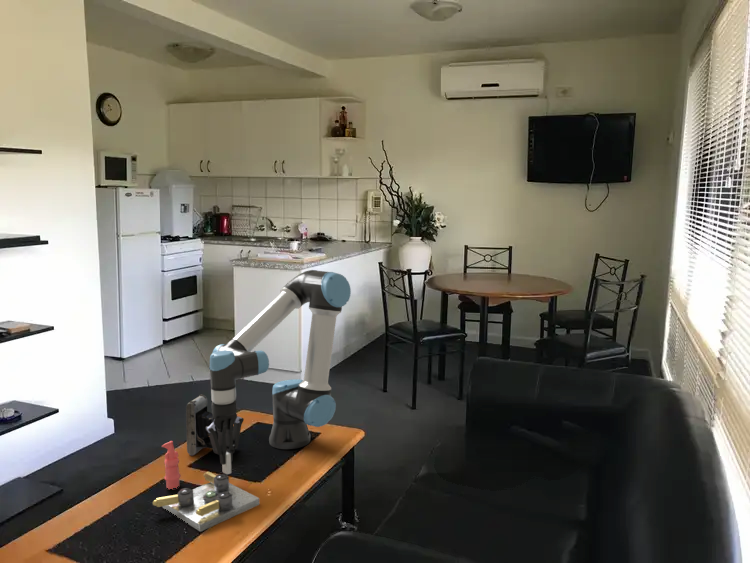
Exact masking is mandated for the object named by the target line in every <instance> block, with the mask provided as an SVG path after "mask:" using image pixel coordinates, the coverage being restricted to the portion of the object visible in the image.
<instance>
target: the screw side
mask: <svg viewBox="0 0 750 563" xmlns="http://www.w3.org/2000/svg"><path fill="white" fill-rule="evenodd" d="M230 508H232V494H231V493H229V492H221V493H219V494H218V495H217V496H216V500H215V501H213V502H210V503H208V504H206V505H203V506H201V507H199V509H198V510H197V511H196V514H197V515H200V516H203V515H206V514H208V513H210V512H213V511H215V510H217V509H218V510H228V509H230Z"/></svg>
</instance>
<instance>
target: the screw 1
mask: <svg viewBox="0 0 750 563" xmlns="http://www.w3.org/2000/svg"><path fill="white" fill-rule="evenodd" d="M193 503H194V495H193V490H192V489H191V488H190V487H184V488H180V489H179V491H178V492H177V494H173V495H167V496H161V497H156V499H154V500H153V501H152V506H154V507H155V506H156V507H157V508H160V507H163V506H167V505H172V504H178V505H179V506H189V505H191V504H193Z"/></svg>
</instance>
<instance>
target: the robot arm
mask: <svg viewBox="0 0 750 563" xmlns="http://www.w3.org/2000/svg"><path fill="white" fill-rule="evenodd" d="M351 293H352V290H351V285H350V283H349V281H348V279H347V278H346V277H345V275H343V274H341V273H339V272H338V273H337V272H333V271H323V270H318V269H317V270H315V269H311V270H309V269H308V270H305V271H304V272H301V273H300V274H298V275H296V276H295V277H293V278H292V279H291V280H289V281H287V283H286V284H285V285H284V286H283V287H282V288H281V289H280V293H279V294H278V295H277V296H276V297H275V298H274V299H273V300H272V301H270V302H269V304H267V306H265V307H264V309H263V310H261V311H260V312H259V313H258V314H257V315H256V316H255V317H254V318H253V319H252V320H251V321H250V322H248V324H246V325H245V326H244V327H242V329H241V330H240V331H239V332H238V333H236V335H235V336H234V337H233V338H231V339H230V340H229V341H228V342H227V343H225V344H224V343H221V344H219V345H216V346H215V347H214V348H213V350H212V353H211V354H210V356H209V368H208V369H209V377H210V378H209V379H210V396H211V401H212V402H211V413H212V414H213V419H212V423H211V425H210V426H209V427H208V426H206V427H205V429H206V431H207V432H208V433H209V437H210V440H211V444H212V447H213V448H212V450H213V453H214V454H216V455H218V456H219V462H220V464H221V465H222V466H221V467H222V468H221V469H222V470H221V471H222V474H226V475H227V476H228V475H230V474H232V462H233V459H234V457H233V454H235V450H237V449H238V447H239V441H240V436H241V430H242V424H243V423H244V419H245V418H243V417H240V416H239V415H238V414H237V411H238V409H237V401H236V399H237V388H236V387H237V385H236V380H240V379H246V378H249V377H254V376H259V375H262V374H264V373H266V372H267V371H268V370H269V368H270V360H269V356H268V355H267V353H266V352H265V351H264V350H255V348H256V347H257V346H259V344H260V343H261V342H262V341H263V340H265V338H266V337H268V335H269V334H271V332H272V331H274V330H275V328H277V327H278V326H279V325H280V324H281V323H282V322H283V320H284V321H285V319H286V318H287V317H289V315H291V313H292V312H293V311H295V310H296V309H301V308H302V306H304V305H306V304H307V303H308V309H309V310H310V312H311V322H310V328H309V329H310V330H309V339H308V344H307V351H306V353H307V354H306V360H305V367H304V375H303V379H300V378H299V379H298V378H293V379H286V380H281V381H278V382H276V383H274V384H273V385H272V392H271V393H272V394H271V396H272V413H273V414H272V418H273V424H272V428H271V431H270V434H269V438H268V441H269V445H270V446H271V447H273V448H275V449H277V450H278V449H279V450H294V449H299V448H303V447H305V446H307V445H309V443H310V442H311V433H310V430H309V428H308V426H310V427H316V428H320V427H323V426H325V425H327V424H328V423H329V421H331V420H332V419H333V417H334V416H335V412H336V408H337V404H336V400H335V398H334V397H332V387H331V386H330V384H329V376H330V369H331V362H332V355H333V354H332V353H333V344H334V339H335V330H336V324H337V323H336V322H337V316H338V315H340V314H341V313H342V310H343V307H344V306H346V305H347V303H348V302H349V300H350V298H351ZM253 350H254V351H253ZM215 427H216V428H217V432H218V438H217V435H216V432H215V430H216V429H215Z"/></svg>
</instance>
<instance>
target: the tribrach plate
mask: <svg viewBox="0 0 750 563" xmlns="http://www.w3.org/2000/svg"><path fill="white" fill-rule="evenodd" d="M192 490H193V495H194V503H193V504H191V505H189V506H179V505H178V504H172V505H167V506H162V509H164V510H165V509H166V511H167V510H168V511H169V512H168V511H167V512H168V513H170V512H171V513H172V515H173V514H174V515H173V516H175V515H176V516H177V517H176V516H175V517H176V518H178V519H179V518H180V519H179V520H181V519H182V520H183V522H184V521H185V522H184V523H185V524H187V523H188V524H187V525H189V526H190V527H192V528H193V529H195V530H197V531H198V532H204V531H205V530H208V529H210V528H211V527H214V526H216V525H218V524H220V523H222V522H225V521H227V520H229V519H231V518H234V517H235V516H237V515H240V514H242V513H244V512H247V511H249V510H250V509H251V510H252V509H253V508H256V507H257V506H259V505H260V497H258V496H256V495H254V494H252V493H249V492H248V491H246V490H244V489H242V488H240V487H238V486H236V485H234V484H232V483H230V482H229V488H228V489H227V490H225V491H215V490H214V484H213V483H211V482H208V483H205V484H202V485H200V486H198V487H195V488H193V489H192ZM221 492H229V493H231V494H232V508H230V509H228V510H218V509H217V510H215V511H213V512H210V513H208V514H206V515H203V516H200V515H197V514H196V511H197V510H198V509H199V507H201V506H203V505H206V504H208V503H210V502H213V501H215V500H216V496H217V495H218V494H219V493H221ZM171 513H170V514H171ZM182 520H181V521H182Z"/></svg>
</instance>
